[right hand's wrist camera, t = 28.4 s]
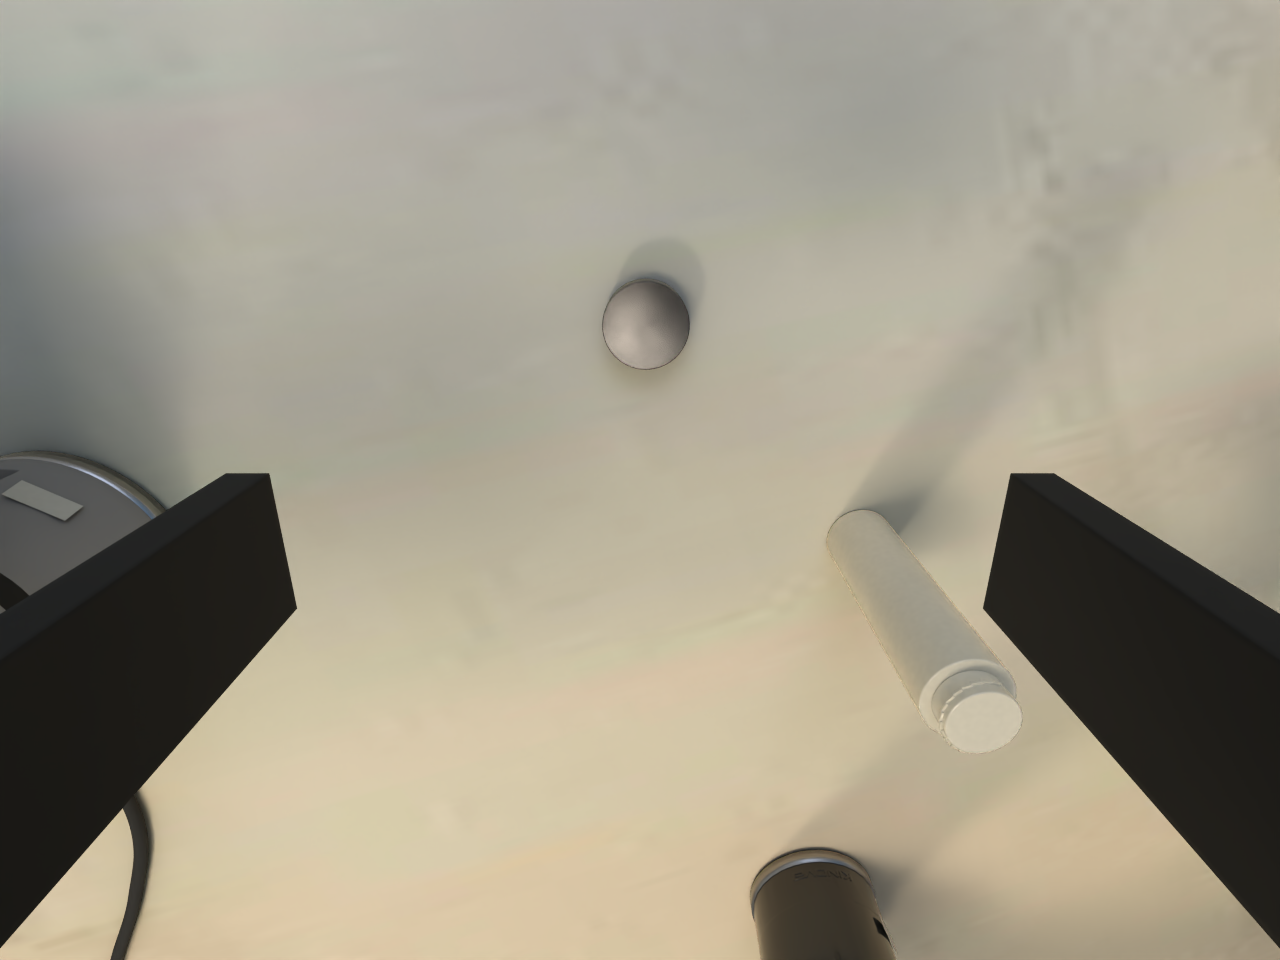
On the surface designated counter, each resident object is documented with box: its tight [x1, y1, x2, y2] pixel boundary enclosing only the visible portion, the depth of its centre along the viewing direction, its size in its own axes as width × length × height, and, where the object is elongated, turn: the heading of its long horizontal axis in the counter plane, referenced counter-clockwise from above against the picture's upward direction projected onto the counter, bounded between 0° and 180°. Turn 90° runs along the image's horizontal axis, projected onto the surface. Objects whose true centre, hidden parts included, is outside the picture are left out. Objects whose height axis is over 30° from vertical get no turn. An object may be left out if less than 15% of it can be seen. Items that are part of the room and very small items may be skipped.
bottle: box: [827, 510, 1023, 754], centre depth 35 cm, size 4×4×17 cm
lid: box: [602, 279, 690, 370], centre depth 37 cm, size 5×5×2 cm
